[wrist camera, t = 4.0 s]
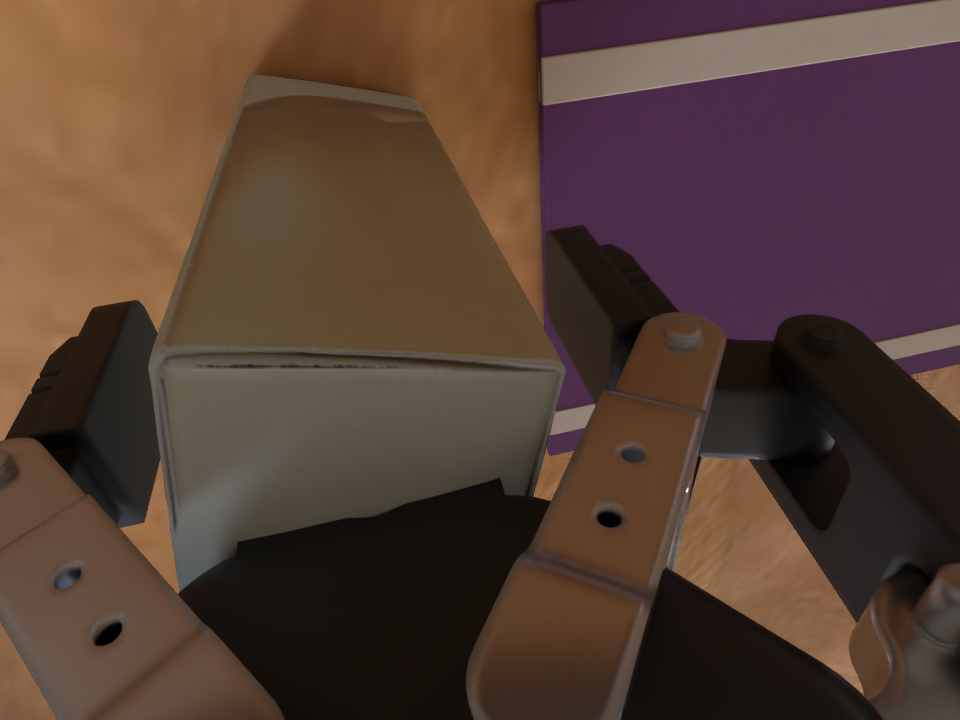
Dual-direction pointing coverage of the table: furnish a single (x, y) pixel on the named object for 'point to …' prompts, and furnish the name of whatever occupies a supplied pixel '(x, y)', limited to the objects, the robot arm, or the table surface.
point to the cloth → (761, 163)
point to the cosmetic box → (339, 330)
